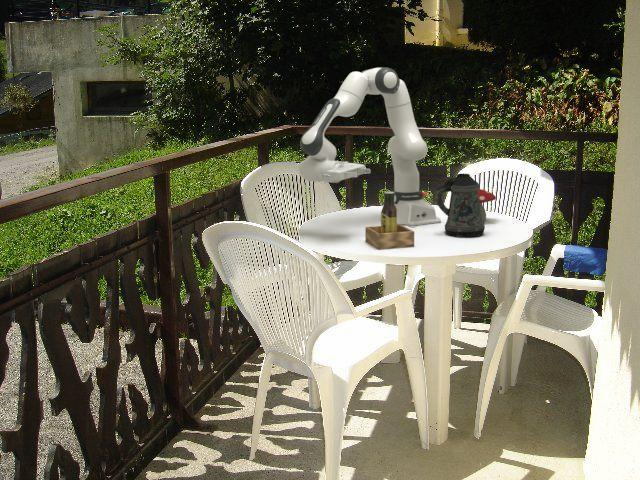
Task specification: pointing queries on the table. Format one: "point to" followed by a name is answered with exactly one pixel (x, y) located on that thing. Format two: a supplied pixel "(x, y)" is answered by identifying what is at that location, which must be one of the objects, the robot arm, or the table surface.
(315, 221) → the table surface
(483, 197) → the decorative mushroom
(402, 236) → the crate
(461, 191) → the beer stein
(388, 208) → the sauce bottle
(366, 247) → the table surface
